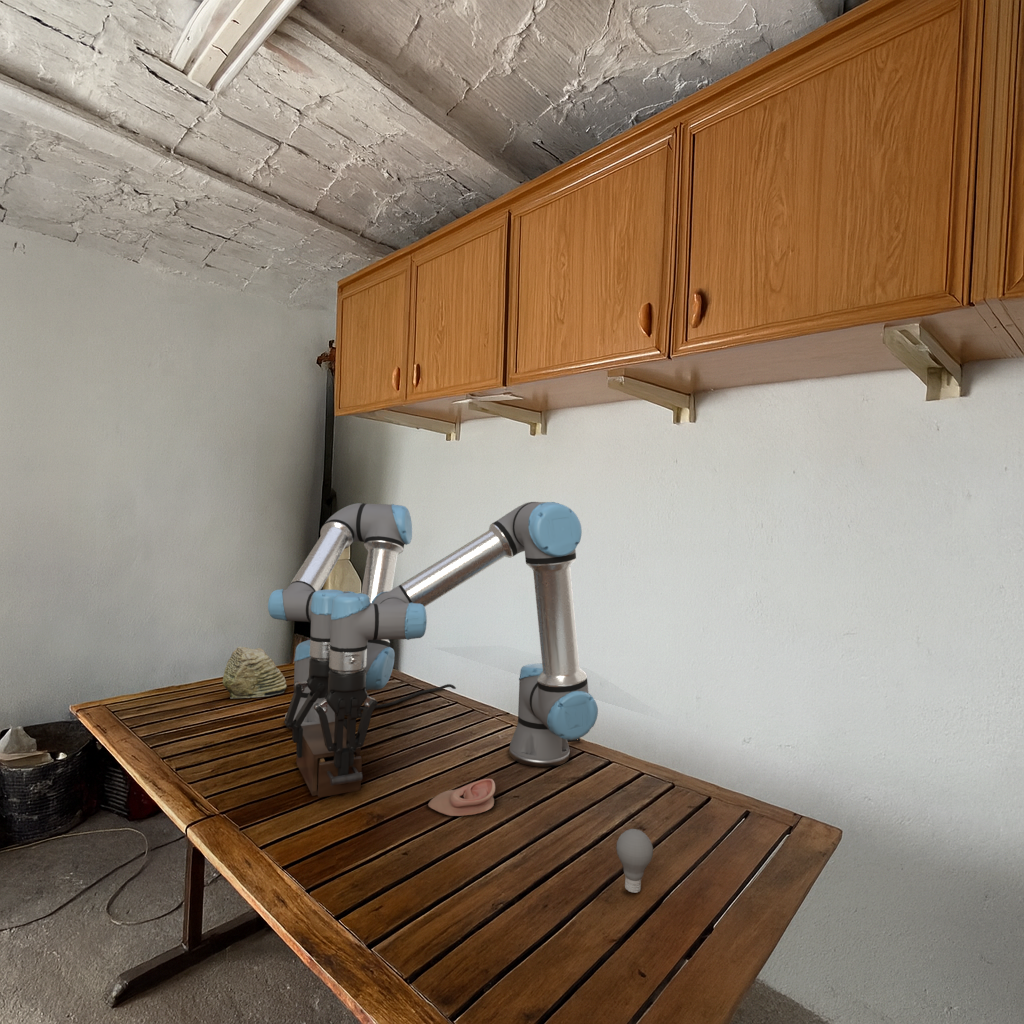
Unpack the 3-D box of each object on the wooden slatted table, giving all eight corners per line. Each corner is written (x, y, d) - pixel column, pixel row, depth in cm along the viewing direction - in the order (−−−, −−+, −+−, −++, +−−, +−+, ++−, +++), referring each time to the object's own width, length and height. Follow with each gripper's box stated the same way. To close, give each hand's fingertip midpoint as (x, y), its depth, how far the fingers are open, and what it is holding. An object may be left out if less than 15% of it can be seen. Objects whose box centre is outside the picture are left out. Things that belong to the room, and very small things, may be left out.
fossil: (218, 695, 195) (220, 647, 195) (278, 685, 208) (279, 640, 207) (228, 703, 189) (230, 653, 188) (289, 692, 201) (290, 645, 201)
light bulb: (610, 879, 108) (613, 822, 108) (644, 879, 109) (647, 822, 109) (619, 902, 102) (622, 840, 102) (655, 901, 103) (658, 840, 103)
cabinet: (359, 787, 139) (360, 747, 139) (312, 796, 134) (313, 754, 134) (338, 756, 154) (340, 720, 154) (296, 763, 150) (297, 726, 149)
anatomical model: (423, 792, 129) (441, 769, 140) (422, 812, 129) (440, 787, 140) (487, 801, 126) (499, 777, 137) (486, 821, 126) (498, 795, 137)
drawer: (367, 800, 131) (369, 767, 131) (324, 809, 127) (325, 775, 127) (341, 760, 150) (342, 731, 150) (302, 766, 146) (303, 736, 146)
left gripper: (278, 665, 139) (274, 766, 139) (378, 656, 150) (374, 750, 150) (272, 657, 145) (269, 753, 146) (369, 649, 156) (365, 739, 157)
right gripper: (319, 676, 124) (314, 795, 125) (383, 670, 131) (378, 783, 131) (311, 666, 131) (306, 779, 132) (373, 661, 137) (368, 769, 138)
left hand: (322, 751), depth 148 cm, fingers closed on cabinet, 10 cm apart
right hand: (342, 781), depth 131 cm, fingers closed
